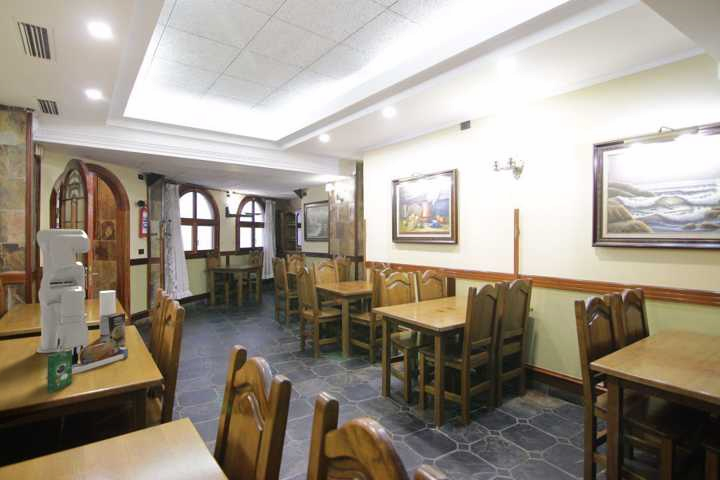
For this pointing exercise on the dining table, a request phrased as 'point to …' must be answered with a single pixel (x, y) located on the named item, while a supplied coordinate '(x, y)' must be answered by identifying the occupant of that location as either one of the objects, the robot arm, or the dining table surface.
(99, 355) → the tin
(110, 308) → the cylindrical container
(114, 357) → the guide track
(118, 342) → the coffee box
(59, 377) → the coffee box
